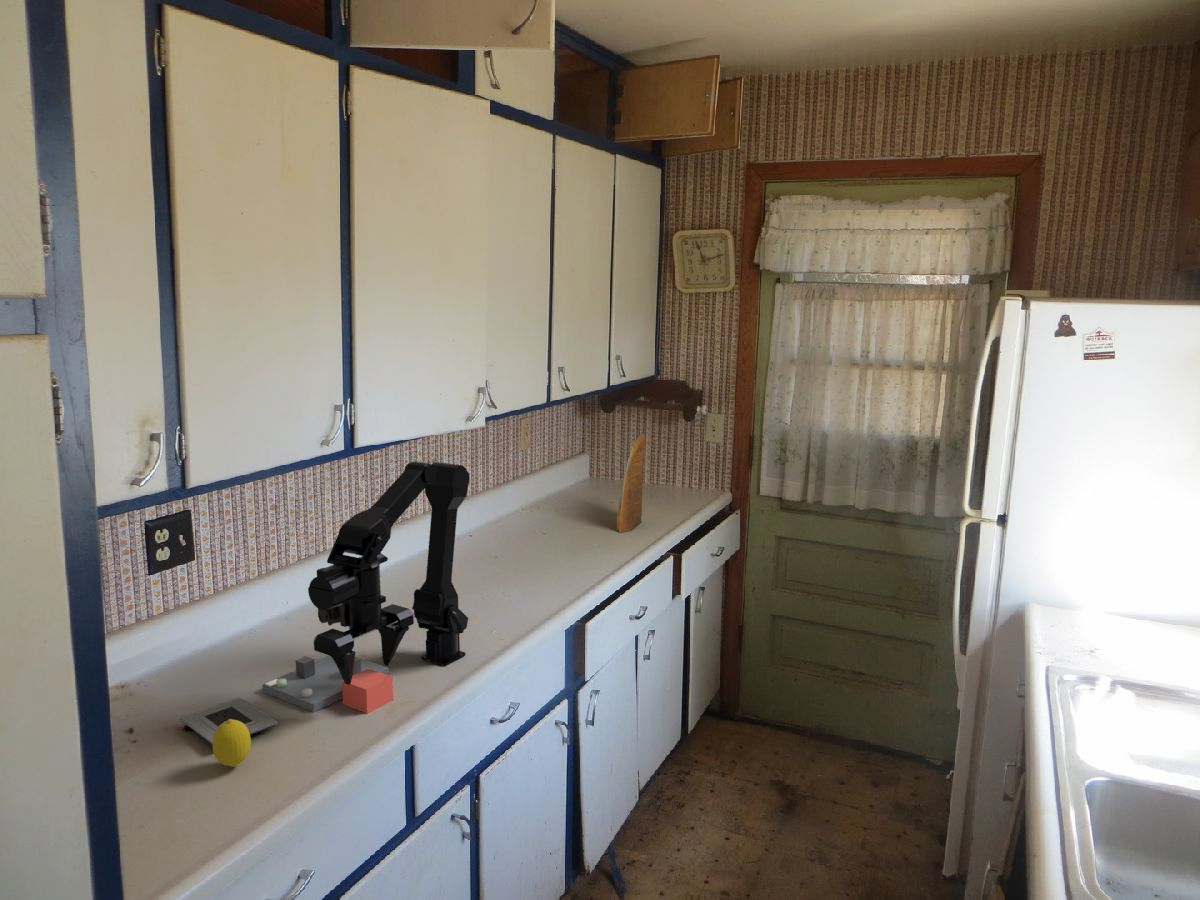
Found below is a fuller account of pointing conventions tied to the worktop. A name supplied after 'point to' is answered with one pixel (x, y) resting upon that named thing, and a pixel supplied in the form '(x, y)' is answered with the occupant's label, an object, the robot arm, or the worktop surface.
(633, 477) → the wooden fin shape
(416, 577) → the worktop surface
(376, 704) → the cap
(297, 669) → the dark gray block
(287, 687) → the panel
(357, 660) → the dark grey small block
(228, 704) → the electrical outlet
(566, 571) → the worktop surface
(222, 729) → the lemon
